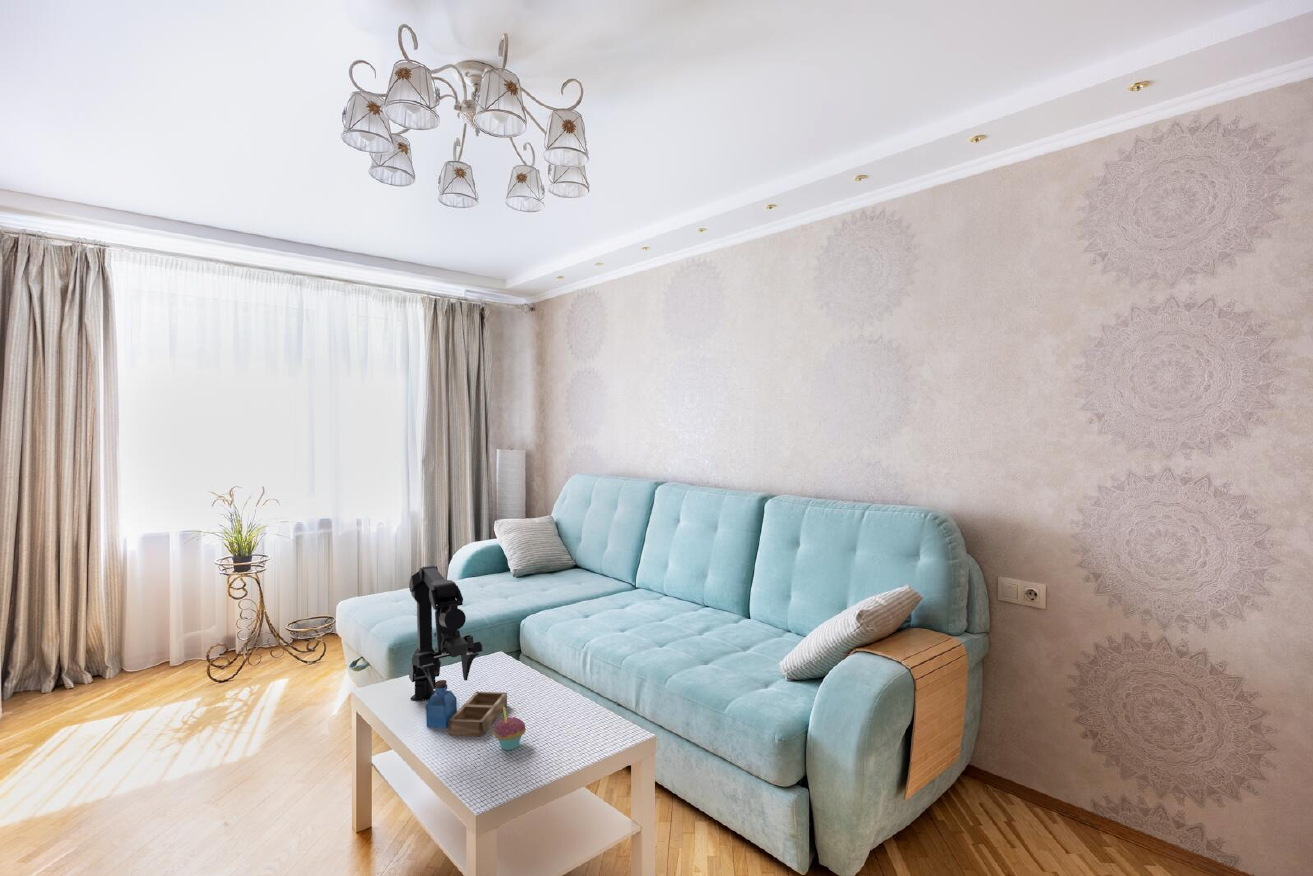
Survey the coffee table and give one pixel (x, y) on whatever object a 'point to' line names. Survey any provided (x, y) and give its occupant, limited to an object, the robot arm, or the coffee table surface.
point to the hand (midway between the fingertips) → (450, 684)
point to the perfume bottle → (440, 706)
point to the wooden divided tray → (477, 714)
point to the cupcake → (509, 731)
